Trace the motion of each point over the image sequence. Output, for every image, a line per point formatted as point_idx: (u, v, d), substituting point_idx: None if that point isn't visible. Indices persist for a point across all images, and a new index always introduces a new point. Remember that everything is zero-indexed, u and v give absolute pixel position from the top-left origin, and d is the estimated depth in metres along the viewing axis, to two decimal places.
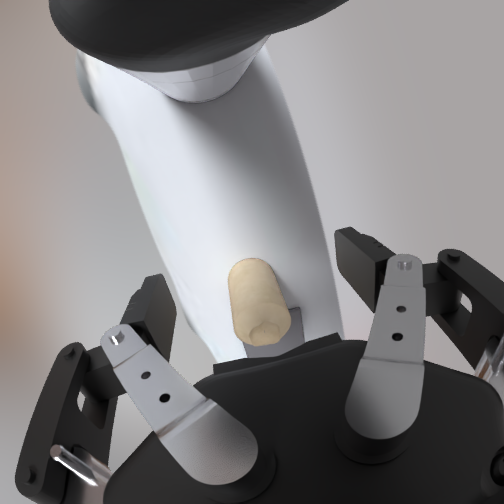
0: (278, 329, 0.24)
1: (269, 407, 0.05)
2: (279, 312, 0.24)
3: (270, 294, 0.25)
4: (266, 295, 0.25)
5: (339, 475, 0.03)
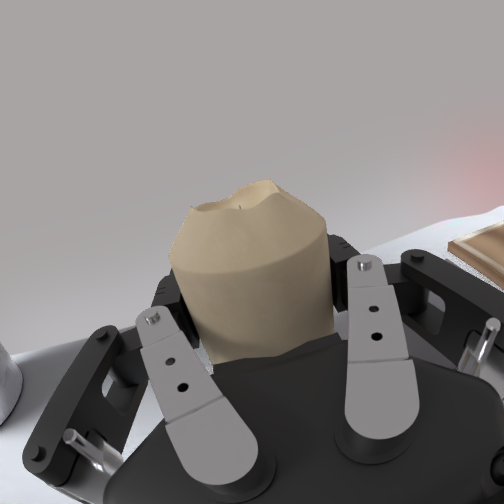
0: (235, 195, 0.10)
1: (269, 407, 0.05)
2: None
3: None
4: None
5: (339, 475, 0.03)
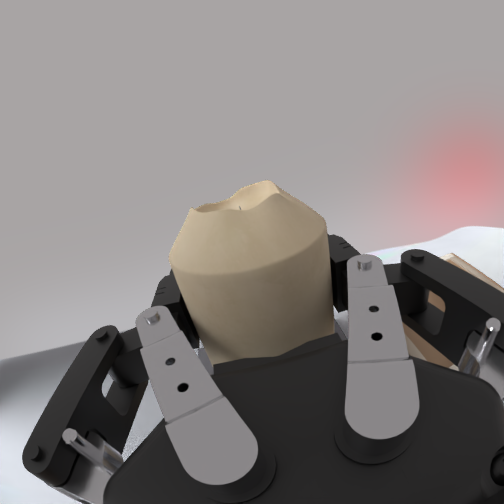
0: (235, 195, 0.10)
1: (269, 407, 0.05)
2: None
3: None
4: None
5: (339, 475, 0.03)
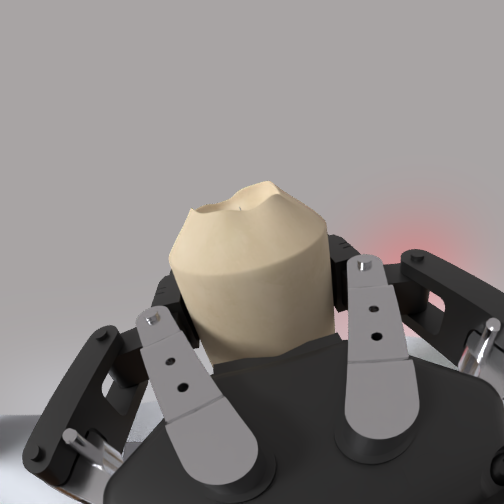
0: (236, 196, 0.10)
1: (269, 407, 0.05)
2: None
3: None
4: None
5: (339, 475, 0.03)
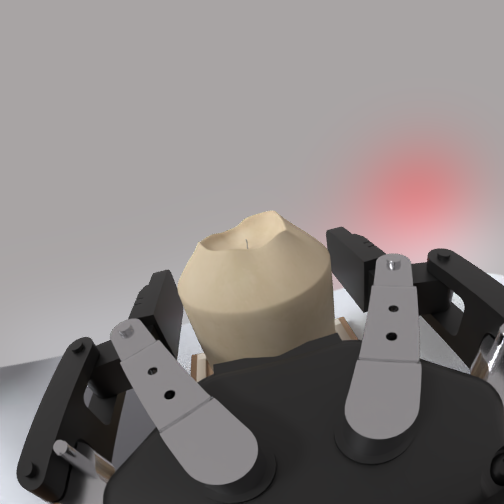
0: (241, 225, 0.10)
1: (269, 407, 0.05)
2: None
3: None
4: None
5: (339, 475, 0.03)
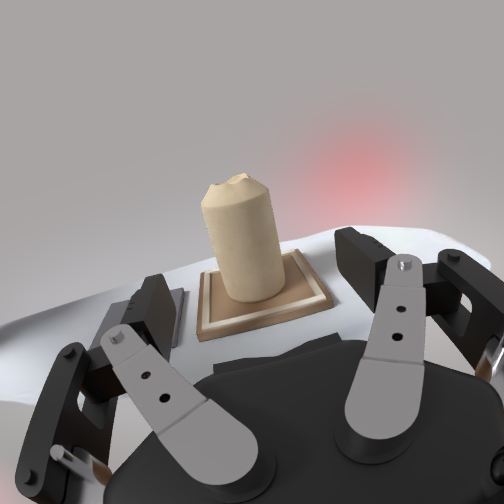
0: (230, 180, 0.22)
1: (269, 407, 0.05)
2: None
3: None
4: None
5: (339, 475, 0.03)
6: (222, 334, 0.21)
